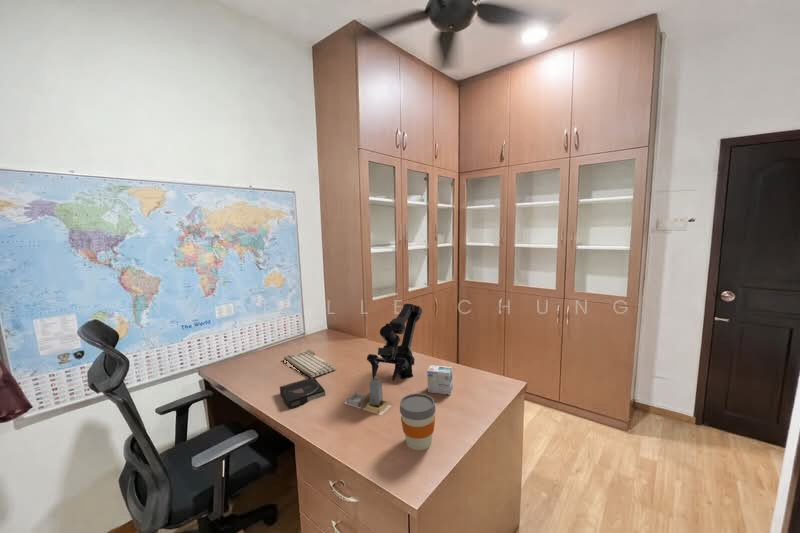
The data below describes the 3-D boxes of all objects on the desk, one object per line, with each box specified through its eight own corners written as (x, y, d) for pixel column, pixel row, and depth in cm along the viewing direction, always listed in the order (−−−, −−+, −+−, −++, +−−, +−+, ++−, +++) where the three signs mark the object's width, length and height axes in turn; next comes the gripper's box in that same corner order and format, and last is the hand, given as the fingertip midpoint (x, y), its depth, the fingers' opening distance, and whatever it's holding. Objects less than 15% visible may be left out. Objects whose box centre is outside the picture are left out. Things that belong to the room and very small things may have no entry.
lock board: (392, 407, 137) (391, 396, 136) (381, 417, 130) (380, 405, 130) (355, 396, 147) (354, 386, 147) (343, 405, 141) (343, 394, 140)
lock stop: (383, 405, 137) (381, 379, 136) (379, 410, 133) (378, 383, 132) (374, 404, 138) (372, 378, 137) (370, 409, 134) (369, 382, 133)
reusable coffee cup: (406, 428, 122) (405, 391, 121) (439, 433, 119) (438, 395, 117) (397, 450, 110) (394, 410, 109) (433, 456, 107) (431, 414, 105)
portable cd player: (289, 410, 139) (288, 402, 139) (280, 394, 154) (279, 386, 153) (325, 398, 148) (325, 390, 147) (314, 384, 162) (313, 376, 162)
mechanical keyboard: (341, 369, 178) (341, 363, 178) (310, 382, 165) (309, 375, 165) (309, 352, 206) (308, 347, 205) (280, 362, 193) (279, 356, 193)
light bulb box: (453, 388, 151) (452, 366, 150) (450, 395, 145) (449, 372, 143) (431, 385, 154) (430, 364, 153) (427, 392, 148) (426, 370, 147)
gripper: (367, 337, 147) (356, 370, 138) (405, 340, 140) (396, 376, 131) (375, 347, 155) (366, 379, 147) (412, 351, 148) (404, 385, 140)
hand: (382, 379), depth 141 cm, fingers open, 9 cm apart
